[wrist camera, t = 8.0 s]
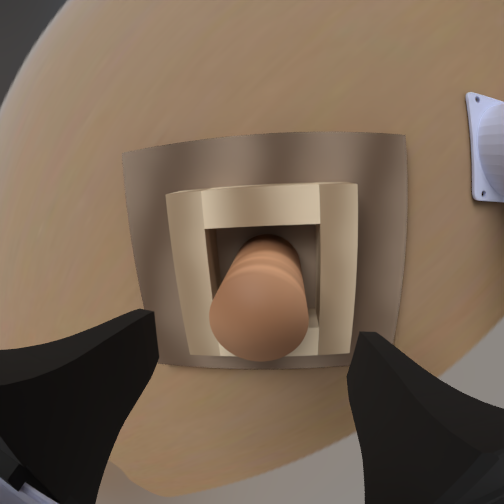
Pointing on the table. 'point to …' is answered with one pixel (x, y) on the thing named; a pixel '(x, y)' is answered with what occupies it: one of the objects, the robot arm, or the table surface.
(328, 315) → the socket
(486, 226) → the table surface
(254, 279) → the peg
